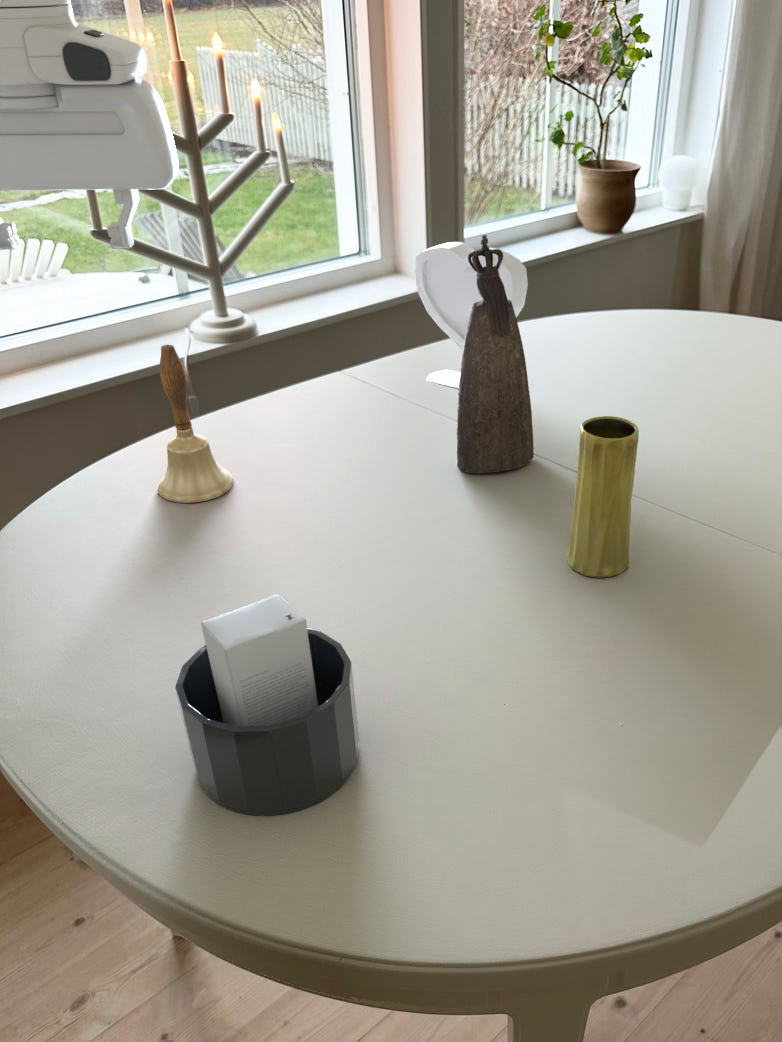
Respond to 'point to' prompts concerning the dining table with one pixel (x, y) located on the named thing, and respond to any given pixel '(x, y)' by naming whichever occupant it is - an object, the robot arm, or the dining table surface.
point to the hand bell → (187, 444)
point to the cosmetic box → (261, 663)
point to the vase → (603, 497)
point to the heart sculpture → (460, 291)
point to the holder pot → (273, 739)
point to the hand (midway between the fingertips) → (65, 247)
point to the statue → (493, 379)
